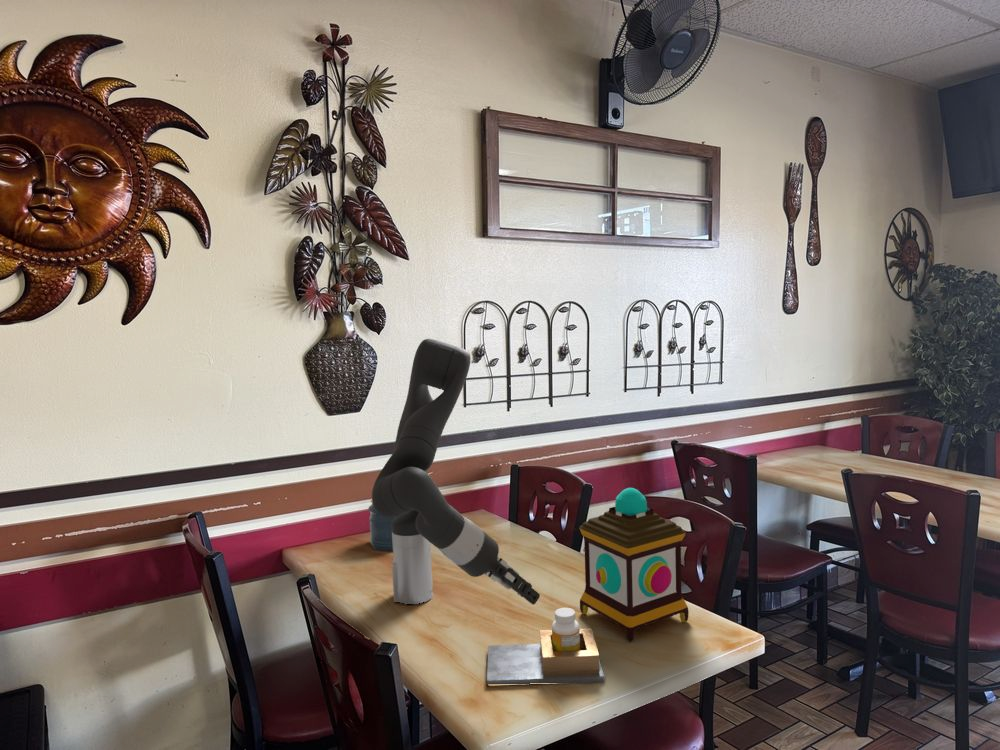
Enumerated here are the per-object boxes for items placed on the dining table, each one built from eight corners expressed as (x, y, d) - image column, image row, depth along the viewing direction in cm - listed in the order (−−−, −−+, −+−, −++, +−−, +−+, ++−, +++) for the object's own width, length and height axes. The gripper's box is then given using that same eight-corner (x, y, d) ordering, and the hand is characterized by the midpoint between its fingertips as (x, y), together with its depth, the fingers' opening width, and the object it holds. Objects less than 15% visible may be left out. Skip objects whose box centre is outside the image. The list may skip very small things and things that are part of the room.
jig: (487, 686, 124) (486, 662, 124) (488, 651, 137) (487, 629, 137) (604, 682, 124) (603, 658, 124) (594, 647, 137) (594, 625, 137)
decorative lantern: (571, 612, 153) (567, 485, 150) (636, 591, 163) (633, 472, 160) (629, 649, 136) (626, 506, 133) (698, 623, 146) (697, 489, 143)
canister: (368, 540, 208) (364, 485, 206) (409, 534, 212) (406, 480, 210) (373, 554, 196) (369, 495, 194) (416, 547, 200) (413, 490, 198)
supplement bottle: (551, 653, 133) (549, 606, 132) (577, 651, 134) (576, 604, 133) (555, 667, 128) (553, 619, 127) (582, 665, 128) (580, 617, 127)
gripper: (499, 538, 112) (556, 587, 119) (461, 517, 125) (515, 562, 132) (473, 576, 110) (533, 623, 117) (437, 551, 123) (493, 595, 129)
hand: (523, 591), depth 124 cm, fingers open, 8 cm apart
